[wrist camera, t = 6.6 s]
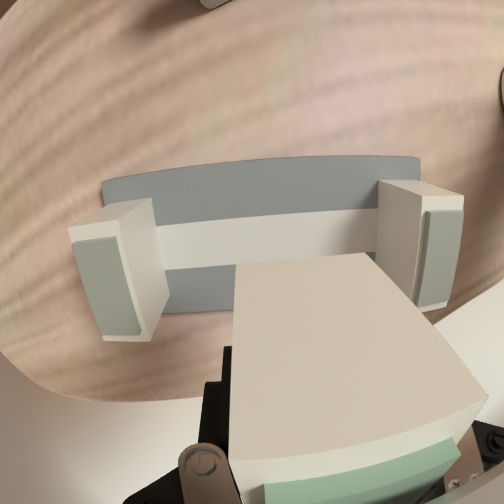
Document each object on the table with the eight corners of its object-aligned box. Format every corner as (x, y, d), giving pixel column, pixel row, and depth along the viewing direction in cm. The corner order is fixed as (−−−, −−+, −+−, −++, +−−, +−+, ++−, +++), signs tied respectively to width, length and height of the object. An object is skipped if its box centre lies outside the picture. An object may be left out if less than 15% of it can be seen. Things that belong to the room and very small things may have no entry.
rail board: (412, 156, 24) (420, 158, 22) (403, 282, 28) (409, 288, 27) (107, 179, 24) (100, 182, 22) (136, 306, 28) (131, 314, 27)
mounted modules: (415, 179, 23) (469, 197, 16) (408, 271, 26) (449, 310, 19) (109, 204, 23) (62, 230, 16) (130, 296, 26) (101, 345, 19)
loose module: (364, 252, 10) (501, 414, 3) (344, 402, 13) (385, 532, 6) (236, 264, 10) (227, 489, 3) (254, 413, 13) (261, 555, 6)
